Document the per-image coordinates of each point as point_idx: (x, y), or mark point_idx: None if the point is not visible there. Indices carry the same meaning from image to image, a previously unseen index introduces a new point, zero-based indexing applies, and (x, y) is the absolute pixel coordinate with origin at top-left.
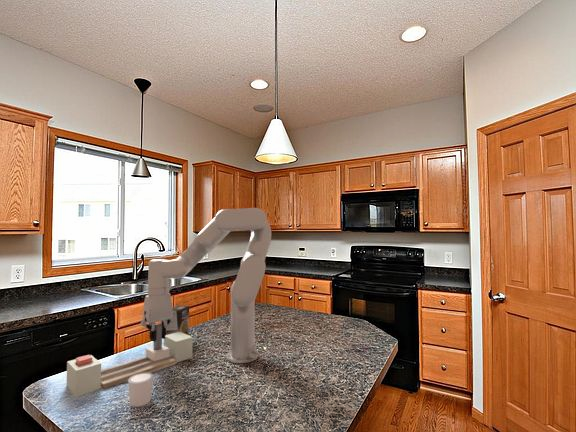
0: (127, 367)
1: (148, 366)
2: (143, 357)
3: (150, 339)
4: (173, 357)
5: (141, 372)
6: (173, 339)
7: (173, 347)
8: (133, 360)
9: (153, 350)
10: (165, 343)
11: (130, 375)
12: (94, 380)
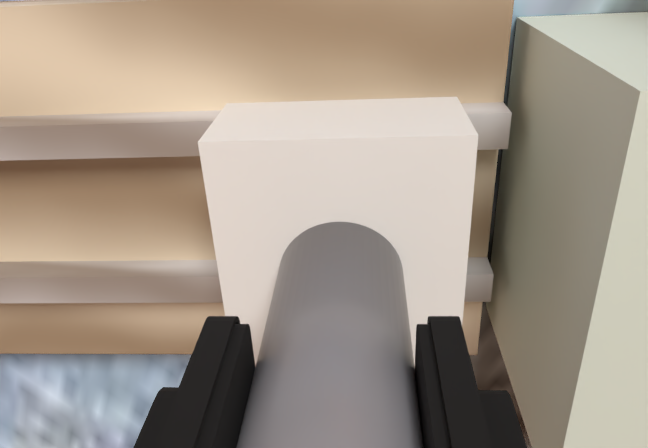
0: (4, 177)
1: (199, 304)
2: (230, 9)
3: (208, 320)
4: (499, 283)
5: (120, 347)
6: (595, 409)
7: (530, 361)
8: (91, 15)
9: (261, 307)
10: (570, 121)
11: (20, 353)
12: None
